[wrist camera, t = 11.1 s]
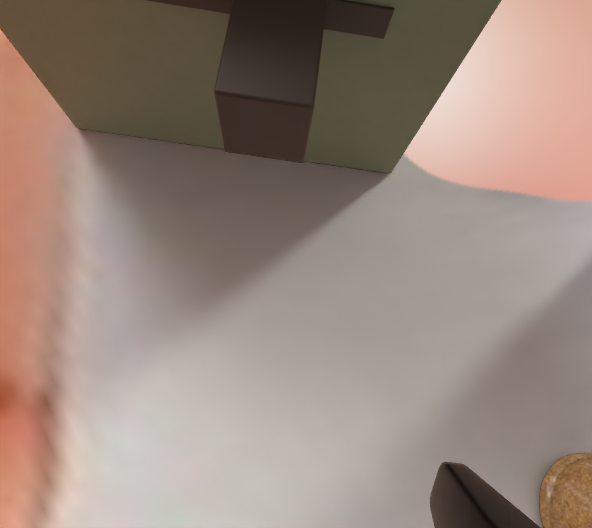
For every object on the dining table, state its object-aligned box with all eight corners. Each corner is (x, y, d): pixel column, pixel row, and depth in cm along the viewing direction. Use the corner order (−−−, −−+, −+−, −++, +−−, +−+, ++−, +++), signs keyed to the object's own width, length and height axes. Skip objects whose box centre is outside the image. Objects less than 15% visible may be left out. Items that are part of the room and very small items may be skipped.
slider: (303, 164, 12) (314, 107, 9) (224, 152, 11) (212, 92, 9) (316, 56, 13) (329, -21, 10) (244, 45, 13) (239, -36, 10)
